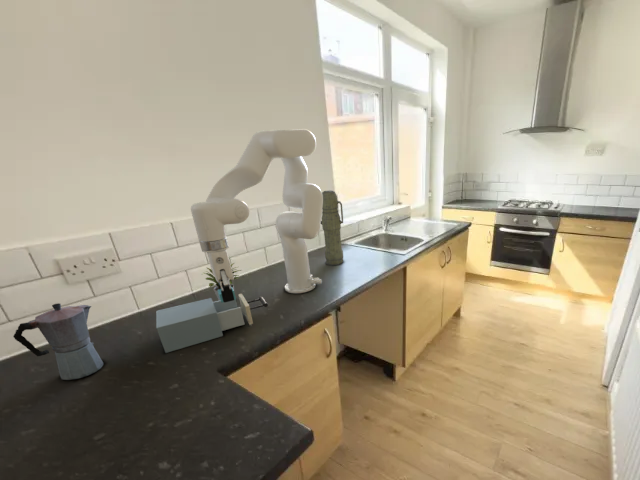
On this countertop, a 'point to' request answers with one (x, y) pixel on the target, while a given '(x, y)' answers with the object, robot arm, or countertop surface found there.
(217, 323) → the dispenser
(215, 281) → the house plant
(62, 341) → the moka pot
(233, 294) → the teal block
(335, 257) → the thermos
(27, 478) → the countertop surface
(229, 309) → the drawer
